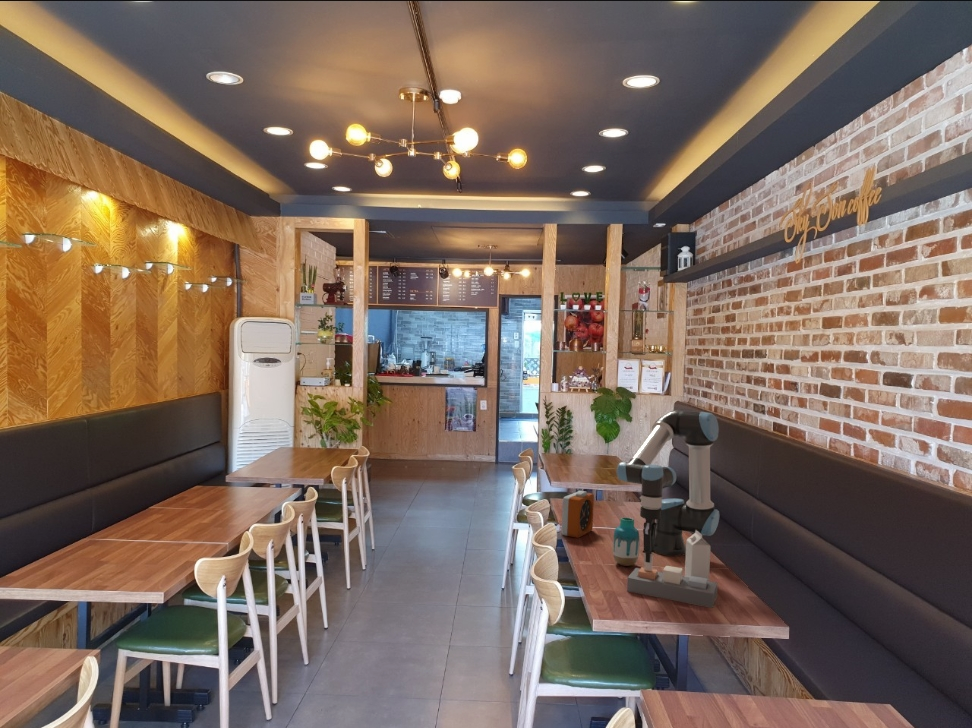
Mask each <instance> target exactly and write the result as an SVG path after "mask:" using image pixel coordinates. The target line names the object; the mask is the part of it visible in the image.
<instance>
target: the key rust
mask: <svg viewBox="0 0 972 728" xmlns="http://www.w3.org/2000/svg"><path fill="white" fill-rule="evenodd" d="M658 572H659V570H658V569H656V568H652V571H647V570H644V566H641V567H640V570H639V571H638V577H642V578H648V579H653V580H655V579H656V578H657V576H658Z"/></svg>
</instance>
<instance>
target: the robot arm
mask: <svg viewBox="0 0 972 728" xmlns="http://www.w3.org/2000/svg"><path fill="white" fill-rule="evenodd" d="M719 428H720V427H719V422H718V419H717V417H716V415H715V414H713V413H711V412H705V411H699V410H684V409H675V410H672V411H669V412H667V413H664V414H663V415H661V416H660V417H659V418H658V419H657V420H656V421H655V422H654V423H653V424H652V427H651V431H650V433H649V434H648V436H647V437H646V438H645V439H644V440H643V442H642V443H641V445H640V446H639V447H638V449H637V450H636V451H635V453H634V454H633V455H632V457H631V458H630V459H629V461H628V462H627V461H621V462H619V463H618V465H617V467H616V475H617V476H616V477H617V478H618V480H619V481H622V482H626V483H632V484H639V485H641V493H640V495H641V496H639V499H640V505H641V506H640V510H639V511H640V513H639V515H640V517H641V518H642V519H645V522H644V523H643V529H642V532H643V550H642V553H643V554H644V558H643V559H644V562H643V567H644V570H647V571H652V569H653V561H654V560H653V559H654V558H653V554H654V553H656V554H659V555H663V556H668V557H669V556H670V557H673V556H674V557H679V556H683V555H684V556H685V555H686V544H685V543H686V542H685V540H684V537H683V532H688V533H692V534H694V533H695V530H697V531H698V532H699V533H700V534H702V536H708V537H709V536H712V535H714V534H715V532H716V530H717V527H718V526H719V522H720V521H719V520H720V511H719V510H718V509H716V508H715V503H714V502H713V501H712V500H711V447H712V446H713V445H714V442H715V441H717V439H718V438H719V431H720V429H719ZM676 437H680V438H684V444H685V445H686V446H688V477H689V478H688V481H689V488H688V489H689V490H688V491H689V492H688V493H689V499H688V500H687V501H686V503H685V500H684V499H682V498H664V499H663V489H665V488H666V489H667V488H669V487H671V486H673V485H674V484H675V483H676V481H677V473H676V471H675V470H674V469H673V468H672V467H669V466H661V465H658V464H652V463H653V461H654V460H655V459H656V457H657V456H658V454H659V453H660V452H661V450H662V449H663V447H664V446H665V445H666V443H667V442H668V441H669V442H670V441H671V440H672V439H673V438H676Z"/></svg>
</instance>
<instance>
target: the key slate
mask: <svg viewBox="0 0 972 728" xmlns="http://www.w3.org/2000/svg"><path fill="white" fill-rule="evenodd" d="M688 586H691V587H696V588H701V589H707V587H708V579H706V578H701V577H695V576H691V577H690V579H689V580H688Z"/></svg>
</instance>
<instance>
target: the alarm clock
mask: <svg viewBox="0 0 972 728" xmlns="http://www.w3.org/2000/svg"><path fill="white" fill-rule="evenodd" d="M594 500H595V496H594V493H591V492H588V491H584V490H578V491H576V492H573V493H571V494H568V495H565V496H564V497H563V498H562V512H561V513H562V515H561V535H563V536H566V537H570V538H571V537H572V538H576V539H579V538H581V537H582V536H584V535H586V534H588V533H590V532H592V530H593V524H594V507H595V506H594V505H595V504H594V503H595V502H594Z"/></svg>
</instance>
